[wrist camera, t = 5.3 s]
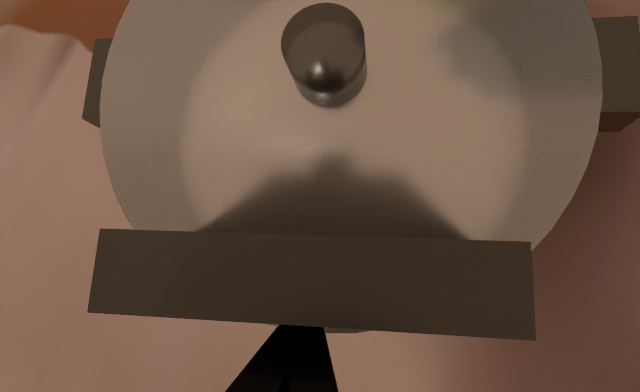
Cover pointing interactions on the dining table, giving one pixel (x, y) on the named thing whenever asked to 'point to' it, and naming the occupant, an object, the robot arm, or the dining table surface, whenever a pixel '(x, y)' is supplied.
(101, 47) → the cooker pot
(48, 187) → the dining table surface
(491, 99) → the cooker lid
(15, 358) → the dining table surface
